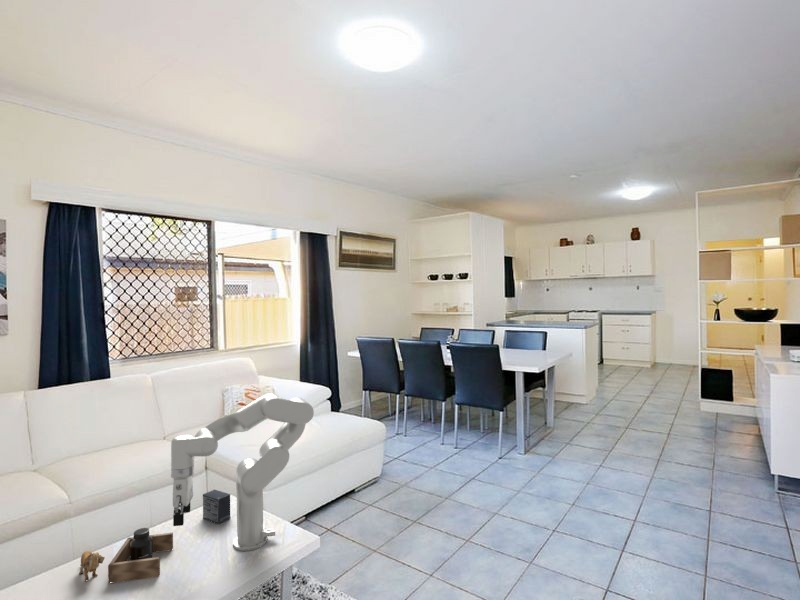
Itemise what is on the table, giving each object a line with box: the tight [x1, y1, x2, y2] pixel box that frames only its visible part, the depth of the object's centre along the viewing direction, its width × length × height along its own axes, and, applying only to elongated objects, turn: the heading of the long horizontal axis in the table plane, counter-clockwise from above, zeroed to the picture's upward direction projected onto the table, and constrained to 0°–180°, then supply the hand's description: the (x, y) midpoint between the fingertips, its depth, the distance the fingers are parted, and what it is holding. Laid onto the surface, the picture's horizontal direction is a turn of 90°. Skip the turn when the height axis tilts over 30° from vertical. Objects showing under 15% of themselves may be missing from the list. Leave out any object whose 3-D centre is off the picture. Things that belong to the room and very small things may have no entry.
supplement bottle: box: [129, 527, 153, 561], centre depth 156 cm, size 7×7×12 cm
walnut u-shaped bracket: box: [107, 532, 174, 584], centre depth 156 cm, size 15×17×6 cm
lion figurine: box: [79, 550, 106, 581], centre depth 151 cm, size 15×5×9 cm, turn 55°
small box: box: [202, 489, 231, 525], centre depth 189 cm, size 11×6×10 cm, turn 60°
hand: (182, 518), depth 159 cm, fingers open, 9 cm apart
